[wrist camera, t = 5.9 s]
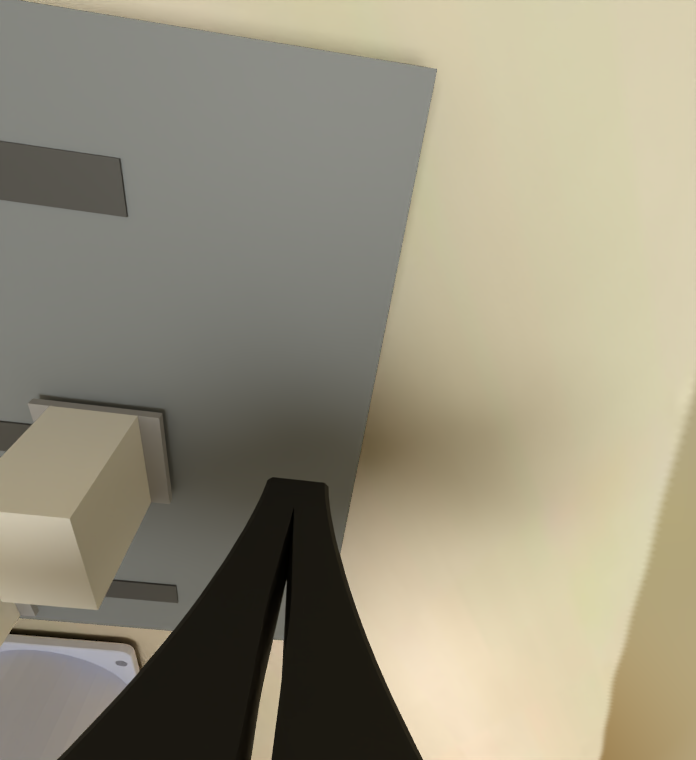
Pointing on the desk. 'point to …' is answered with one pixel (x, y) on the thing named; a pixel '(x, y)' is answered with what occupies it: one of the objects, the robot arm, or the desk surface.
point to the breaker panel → (199, 263)
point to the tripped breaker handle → (76, 500)
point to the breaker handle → (13, 616)
